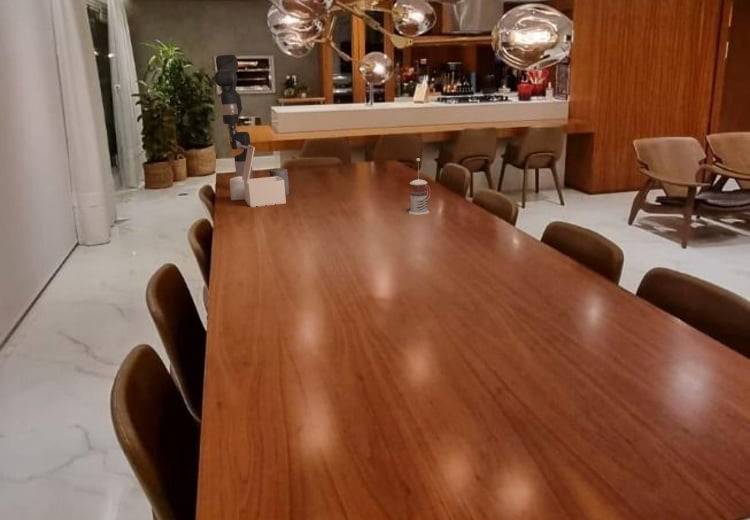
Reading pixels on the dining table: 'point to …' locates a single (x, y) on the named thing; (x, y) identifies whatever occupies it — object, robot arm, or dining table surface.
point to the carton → (265, 191)
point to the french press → (421, 199)
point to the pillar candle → (282, 174)
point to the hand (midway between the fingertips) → (234, 148)
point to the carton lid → (247, 160)
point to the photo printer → (237, 188)
